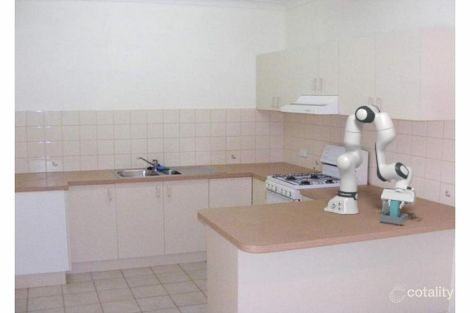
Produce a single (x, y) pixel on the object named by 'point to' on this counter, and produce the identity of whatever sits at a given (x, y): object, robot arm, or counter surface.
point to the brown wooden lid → (414, 218)
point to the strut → (394, 208)
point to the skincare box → (385, 207)
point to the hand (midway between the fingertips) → (394, 207)
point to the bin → (393, 219)
